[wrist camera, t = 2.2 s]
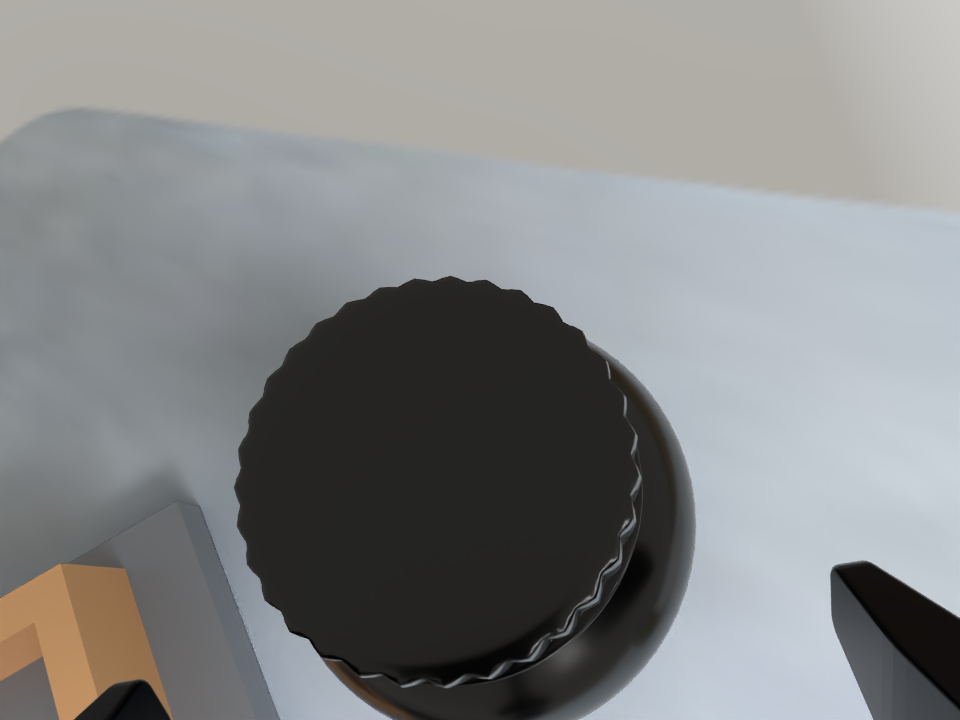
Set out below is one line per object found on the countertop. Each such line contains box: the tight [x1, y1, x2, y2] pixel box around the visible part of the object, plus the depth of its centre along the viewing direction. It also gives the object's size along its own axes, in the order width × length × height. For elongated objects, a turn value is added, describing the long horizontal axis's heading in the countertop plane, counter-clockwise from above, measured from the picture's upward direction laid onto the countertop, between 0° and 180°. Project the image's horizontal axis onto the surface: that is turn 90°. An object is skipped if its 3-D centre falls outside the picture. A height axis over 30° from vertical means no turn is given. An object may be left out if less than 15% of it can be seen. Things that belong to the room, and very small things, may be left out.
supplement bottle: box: [234, 276, 696, 720], centre depth 14 cm, size 7×7×12 cm
